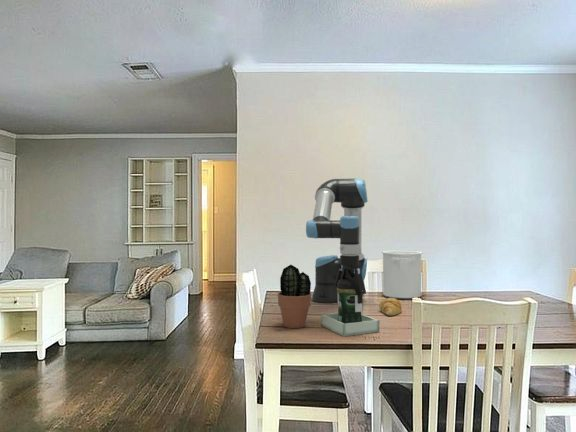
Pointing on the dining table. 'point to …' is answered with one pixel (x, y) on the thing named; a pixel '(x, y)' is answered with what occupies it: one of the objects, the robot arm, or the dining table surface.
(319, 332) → the dining table surface
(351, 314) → the coffee jar
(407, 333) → the dining table surface
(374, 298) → the dining table surface
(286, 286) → the potted plant
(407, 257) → the bucket
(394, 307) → the croissant
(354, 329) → the bin
